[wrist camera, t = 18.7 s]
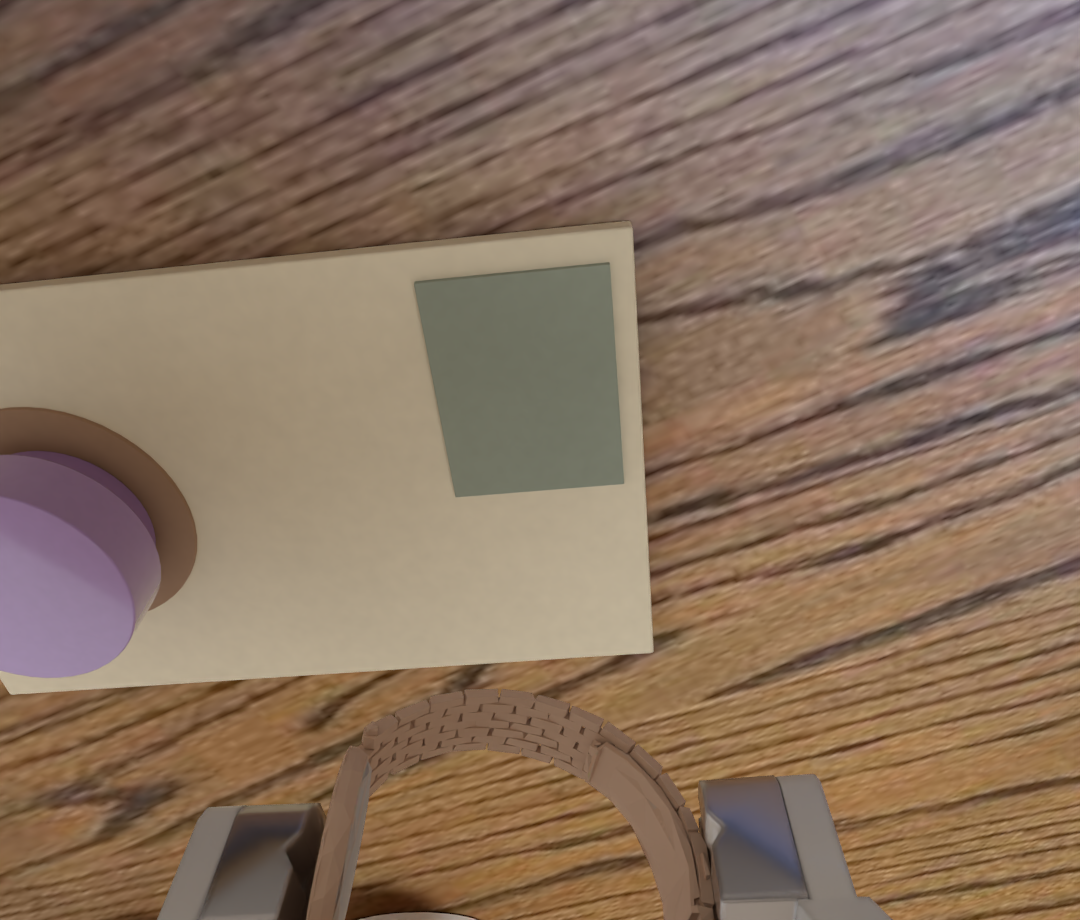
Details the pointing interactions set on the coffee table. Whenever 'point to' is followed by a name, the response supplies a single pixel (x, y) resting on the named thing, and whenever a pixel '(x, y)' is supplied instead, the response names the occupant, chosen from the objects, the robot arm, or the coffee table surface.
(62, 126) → the coffee table surface
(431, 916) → the car outline toy
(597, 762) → the perforated watch strap
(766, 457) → the coffee table surface
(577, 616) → the mat
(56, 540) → the lavender hockey puck
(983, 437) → the coffee table surface
